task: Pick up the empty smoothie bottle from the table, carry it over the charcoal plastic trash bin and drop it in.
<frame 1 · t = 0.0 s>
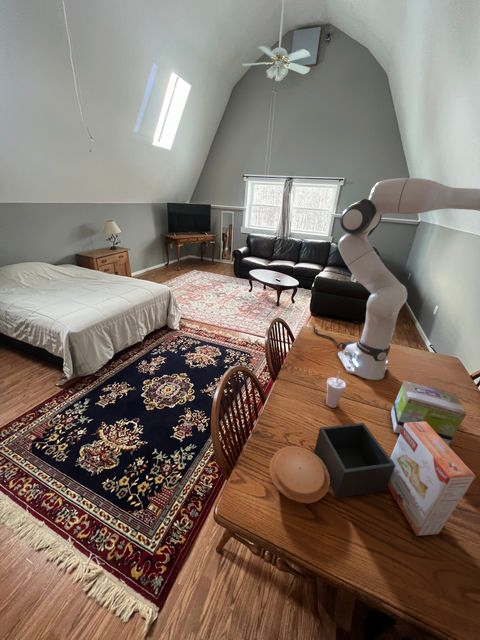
smoothie: (331, 404, 98), on the table
pie: (297, 481, 71), on the table
tea box: (416, 430, 89), on the table
cracker box: (406, 504, 67), on the table
trash bin: (347, 469, 74), on the table
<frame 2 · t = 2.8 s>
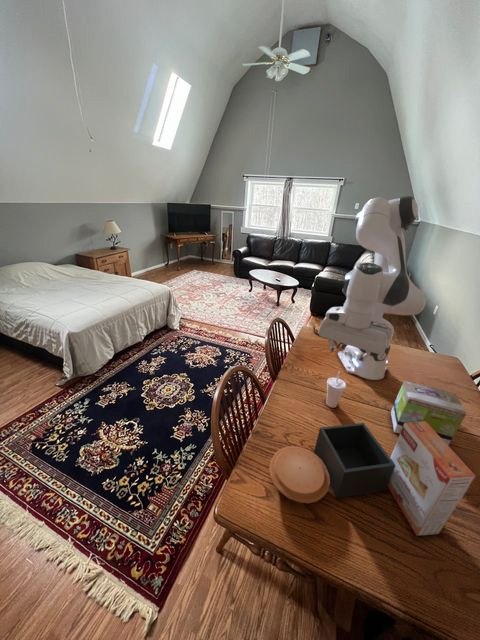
hand: (346, 355, 88), 22 cm above the table, tool pointing down, fingers open, 8 cm apart
nothing on the table moved.
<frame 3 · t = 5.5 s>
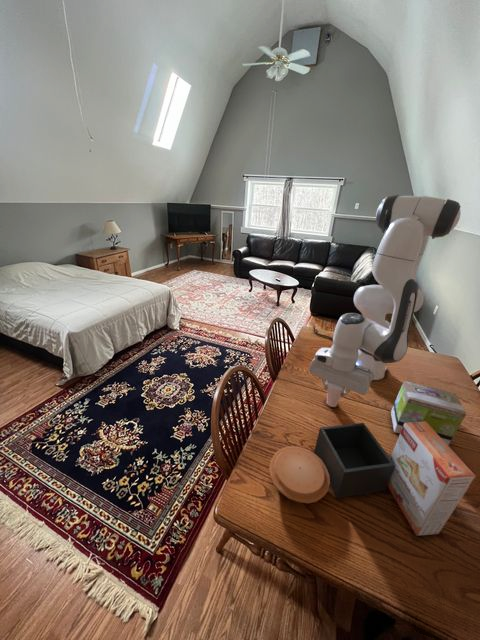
hand: (334, 392, 96), 5 cm above the table, tool pointing down, fingers closed on smoothie, 5 cm apart
smoothie: (331, 403, 98), on the table, touching gripper
everything else where it was.
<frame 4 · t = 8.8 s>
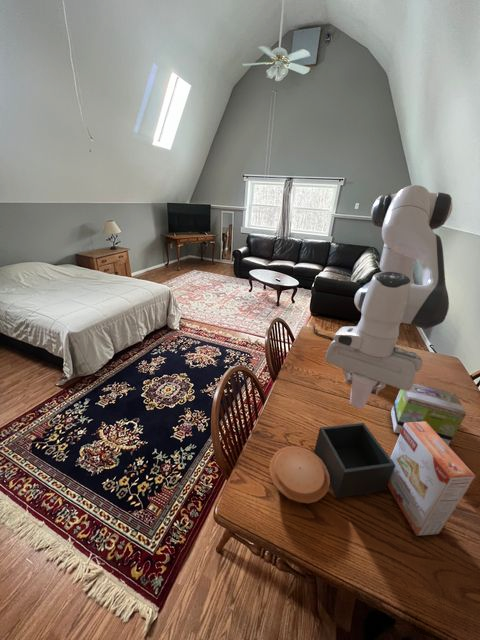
hand: (361, 388, 69), 24 cm above the table, tool pointing down, fingers closed on smoothie, 5 cm apart
smoothie: (357, 404, 72), point 19 cm above the table, touching gripper
everything else where it was.
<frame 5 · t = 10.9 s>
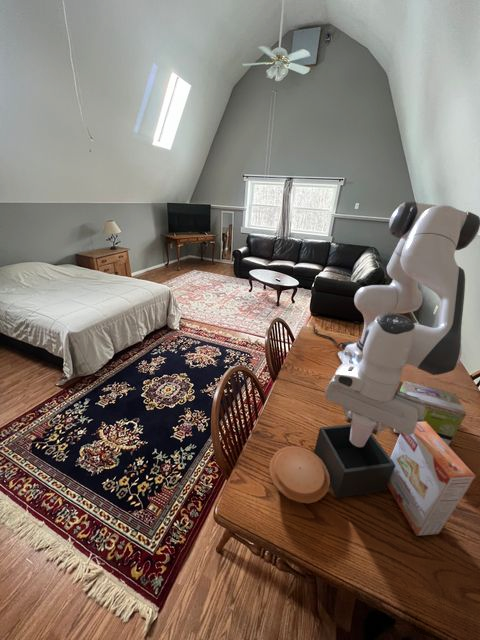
hand: (361, 426, 67), 16 cm above the table, tool pointing down, fingers closed on smoothie, 5 cm apart
smoothie: (356, 441, 70), point 11 cm above the table, touching gripper
everything else where it was.
when the fingers open (13 cm above the table, at t = 12.4 s): smoothie drops 5 cm, resting on trash bin.
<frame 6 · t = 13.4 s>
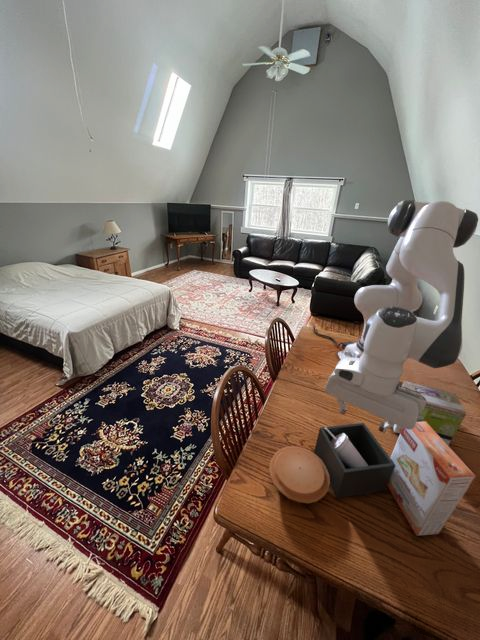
hand: (361, 421, 67), 18 cm above the table, tool pointing down, fingers open, 8 cm apart
smoothie: (363, 470, 72), point 3 cm above the table, touching trash bin
everything else where it was.
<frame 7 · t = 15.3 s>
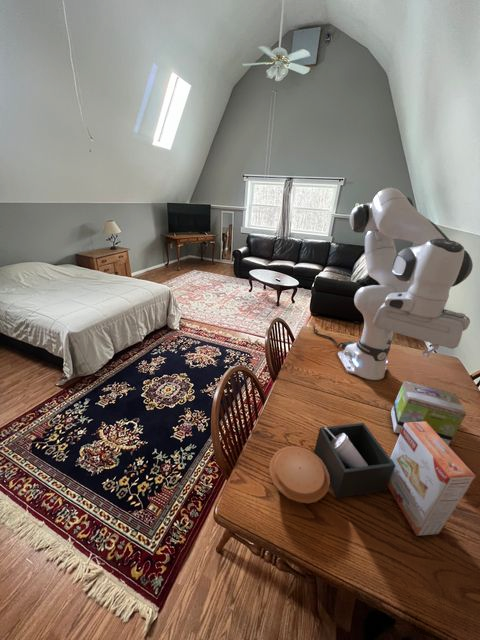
hand: (406, 349, 76), 30 cm above the table, tool pointing down, fingers open, 8 cm apart
nothing on the table moved.
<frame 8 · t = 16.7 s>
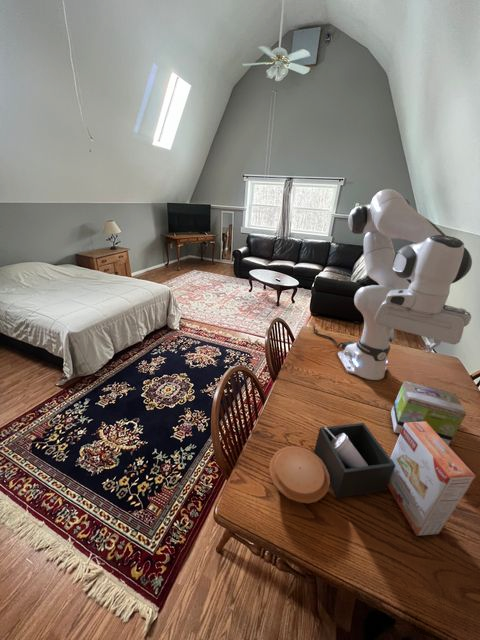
hand: (407, 346, 76), 31 cm above the table, tool pointing down, fingers open, 8 cm apart
nothing on the table moved.
at the end: smoothie inside the target area in the trash bin (3.8 cm from its centre), point 2.7 cm above the trash bin's base; the gripper is holding nothing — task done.
